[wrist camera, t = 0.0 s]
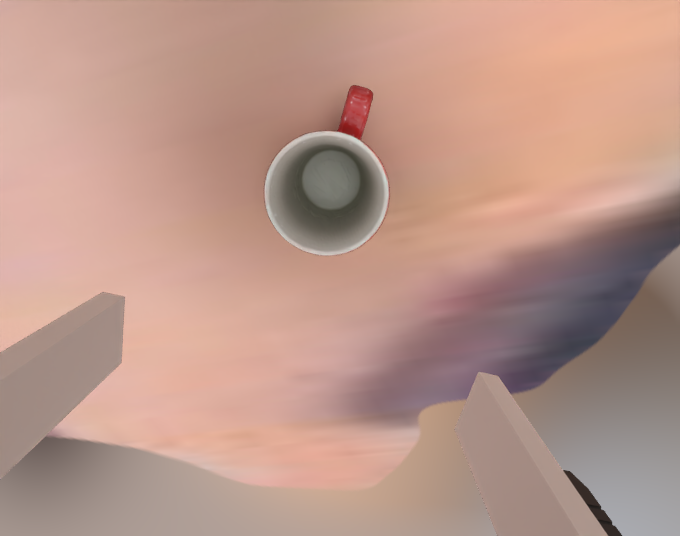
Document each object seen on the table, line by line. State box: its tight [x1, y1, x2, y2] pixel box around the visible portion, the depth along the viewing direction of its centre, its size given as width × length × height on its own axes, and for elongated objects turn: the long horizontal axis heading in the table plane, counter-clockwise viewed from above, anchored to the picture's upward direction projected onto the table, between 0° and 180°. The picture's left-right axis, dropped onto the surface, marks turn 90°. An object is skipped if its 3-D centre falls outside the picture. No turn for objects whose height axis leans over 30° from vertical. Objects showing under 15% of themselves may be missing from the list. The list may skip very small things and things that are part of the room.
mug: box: [264, 85, 390, 256], centre depth 31 cm, size 13×9×14 cm
